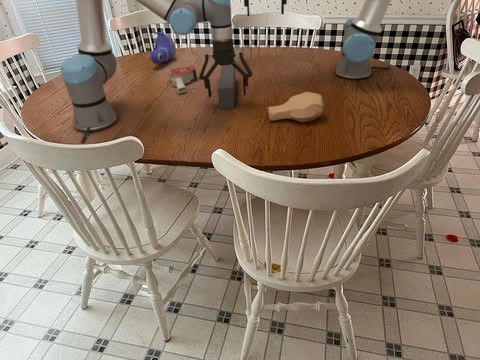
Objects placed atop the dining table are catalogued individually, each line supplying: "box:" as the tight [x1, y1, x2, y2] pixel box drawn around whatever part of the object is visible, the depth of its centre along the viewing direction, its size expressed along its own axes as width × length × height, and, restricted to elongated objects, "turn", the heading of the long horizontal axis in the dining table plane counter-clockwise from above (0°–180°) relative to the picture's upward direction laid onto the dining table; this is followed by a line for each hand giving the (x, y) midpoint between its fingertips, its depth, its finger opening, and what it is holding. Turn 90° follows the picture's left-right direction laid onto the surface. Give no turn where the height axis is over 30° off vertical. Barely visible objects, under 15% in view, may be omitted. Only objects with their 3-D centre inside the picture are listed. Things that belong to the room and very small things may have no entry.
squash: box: [266, 91, 325, 123], centre depth 125 cm, size 11×20×9 cm, turn 92°
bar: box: [217, 64, 237, 109], centre depth 147 cm, size 29×6×8 cm, turn 179°
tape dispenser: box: [166, 65, 198, 94], centre depth 159 cm, size 18×5×20 cm
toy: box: [148, 31, 177, 69], centre depth 182 cm, size 10×17×25 cm
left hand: (227, 95), depth 139 cm, fingers open, 13 cm apart
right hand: (265, 14), depth 142 cm, fingers open, 13 cm apart
